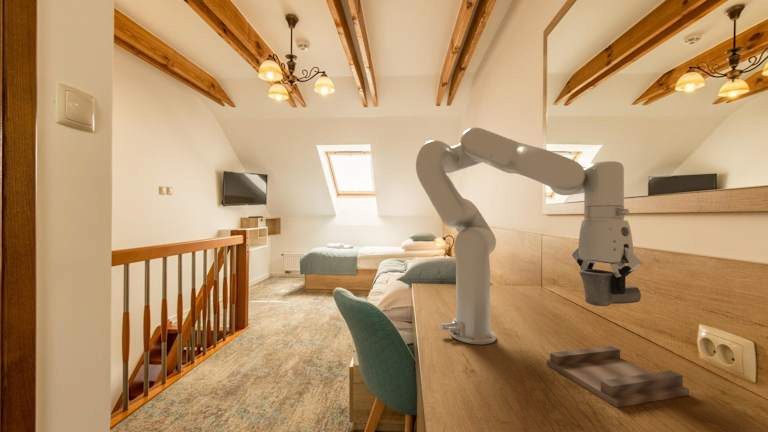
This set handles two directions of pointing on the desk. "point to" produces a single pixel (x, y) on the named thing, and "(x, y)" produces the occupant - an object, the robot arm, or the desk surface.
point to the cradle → (616, 376)
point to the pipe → (605, 289)
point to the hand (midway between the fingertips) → (603, 289)
